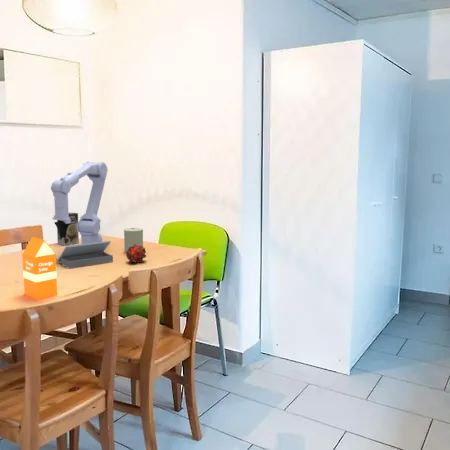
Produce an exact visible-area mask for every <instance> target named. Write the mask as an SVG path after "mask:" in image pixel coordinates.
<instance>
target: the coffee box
mask: <svg viewBox="0 0 450 450" xmlns="http://www.w3.org/2000/svg"><path fill="white" fill-rule="evenodd" d="M68 213H69V218H70V219H71V223H70V224H69V226H68V229H67V233H66V237H65V238H60V236H59V232H58V229H56V231H57V233H56V234H57V238H56V239H57V245H60V246H65V247H66V246H72V245H78V244H79V243H80V241H79V240H80V238H79V236H80V232H79V231H78V230H77V224H78V222H79V213H78V212H68ZM56 222H58V220H56Z"/></svg>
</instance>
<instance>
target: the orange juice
mask: <svg viewBox="0 0 450 450" xmlns="http://www.w3.org/2000/svg"><path fill="white" fill-rule="evenodd" d="M21 254H22V269H23V271H22V272H23V273H22V274H23V286H24V287H23V289H24V290H23V291H24V295H25V294H27V295H26V296H28V295H29V296H28V297H30V296H31V297H30V298H32V297H33V298H32V299H35V300H41V299H44V298H49V297H54V296H57V295H58V283H57V262H56V261H57V260H56V252H54V250H53V249H52V248H51V247H50V245H49V244H48V243H47V241H46V240H45V239H43V238H39V237H36V236H31V239H30V240H29V242H28V244H27V245H26V248H25V249H24V251H23V252H22V253H21Z"/></svg>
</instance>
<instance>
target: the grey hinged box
mask: <svg viewBox="0 0 450 450" xmlns="http://www.w3.org/2000/svg"><path fill="white" fill-rule="evenodd" d="M109 262H110V263H113V262H114V255H113V254H110V253H108V252H106V251H104V252H100V253H92V254H85V255H78V256H70V257H63V258H61V262H60V263H61V265H62V266H63V267H66V268H67V269H76V268H83V267H89V266H95V265H102V264H108V263H109Z"/></svg>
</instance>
